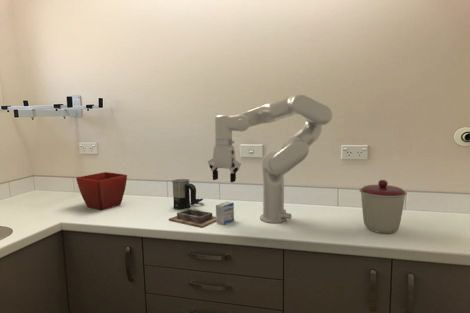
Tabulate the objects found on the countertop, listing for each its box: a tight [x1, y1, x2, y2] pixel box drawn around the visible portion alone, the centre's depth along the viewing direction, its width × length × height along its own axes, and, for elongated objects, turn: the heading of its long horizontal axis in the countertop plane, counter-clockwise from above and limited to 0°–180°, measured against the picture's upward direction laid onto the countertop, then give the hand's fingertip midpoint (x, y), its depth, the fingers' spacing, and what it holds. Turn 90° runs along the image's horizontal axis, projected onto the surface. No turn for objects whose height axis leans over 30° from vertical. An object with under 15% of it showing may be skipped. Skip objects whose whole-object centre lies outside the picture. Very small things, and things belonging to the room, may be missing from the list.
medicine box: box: [215, 201, 235, 226], centre depth 154 cm, size 8×4×9 cm, turn 143°
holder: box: [168, 208, 216, 229], centre depth 158 cm, size 20×14×3 cm
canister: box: [359, 179, 408, 234], centre depth 141 cm, size 18×18×21 cm
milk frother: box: [171, 178, 204, 210], centre depth 182 cm, size 14×16×15 cm
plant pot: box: [75, 171, 128, 211], centre depth 184 cm, size 19×19×17 cm
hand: (224, 180), depth 153 cm, fingers open, 9 cm apart
